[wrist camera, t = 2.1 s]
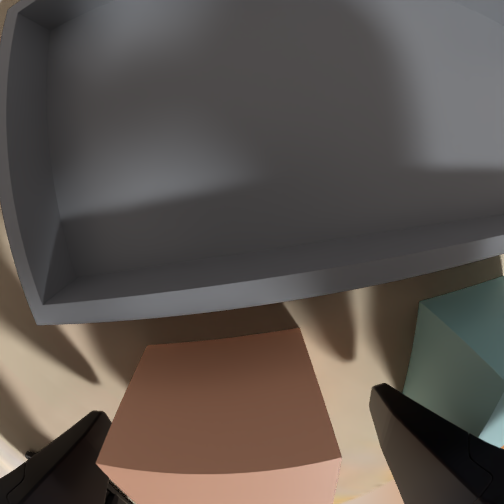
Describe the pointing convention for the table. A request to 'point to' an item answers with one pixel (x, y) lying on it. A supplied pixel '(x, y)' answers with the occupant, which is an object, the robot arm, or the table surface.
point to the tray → (245, 149)
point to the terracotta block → (224, 425)
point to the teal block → (462, 359)
